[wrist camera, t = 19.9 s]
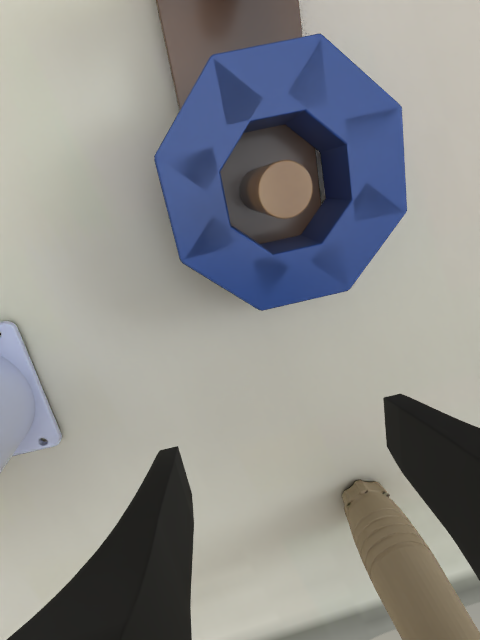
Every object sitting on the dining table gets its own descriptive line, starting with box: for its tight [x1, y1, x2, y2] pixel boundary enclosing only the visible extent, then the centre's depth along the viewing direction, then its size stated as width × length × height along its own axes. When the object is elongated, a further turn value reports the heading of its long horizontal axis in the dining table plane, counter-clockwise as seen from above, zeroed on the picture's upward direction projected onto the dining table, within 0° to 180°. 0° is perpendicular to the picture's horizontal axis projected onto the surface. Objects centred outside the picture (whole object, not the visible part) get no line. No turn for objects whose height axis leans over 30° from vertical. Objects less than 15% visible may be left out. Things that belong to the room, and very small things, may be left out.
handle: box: [342, 480, 480, 640], centre depth 21 cm, size 5×6×15 cm
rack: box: [156, 0, 321, 244], centre depth 15 cm, size 6×15×7 cm, turn 11°
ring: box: [154, 34, 407, 310], centre depth 17 cm, size 10×10×3 cm
